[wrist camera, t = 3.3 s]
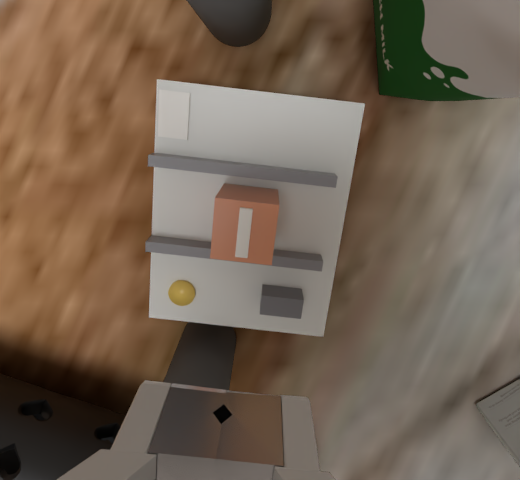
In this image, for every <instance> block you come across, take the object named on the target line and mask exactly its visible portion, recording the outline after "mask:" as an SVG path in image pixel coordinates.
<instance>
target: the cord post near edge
mask: <svg viewBox="0 0 520 480" xmlns="http://www.w3.org/2000/svg"><path fill="white" fill-rule="evenodd" d="M187 1H188V3H189V4H190V5H191V7H192V8H193V9H194V11H195V12H196V13H197V15H198V16H199V17H200V18H201V20H202V21H203V22H204V24H205V25H206V26H207V28H208V29H209V30H210V32H211V33H212V34H213V35H214V36H215V37H216V38H217V39H218V40H219V41H221V42H222V43H224V44H227V45H230V46H236V47H240V46H246V45H249V44H251V43H253V42H255V41H256V40H257V39H259V38H260V37H261V36H262V35H263V33H264V32H265V30H266V29H267V27H268V24H269V22H270V18H271V10H272V0H187Z"/></svg>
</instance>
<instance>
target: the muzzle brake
mask: <svg viewBox="0 0 520 480" xmlns="http://www.w3.org/2000/svg"><path fill="white" fill-rule="evenodd" d="M125 417H126V416H125V415H123V414H119V413H116V412H113V411H110V410H109V409H106V408H103V407H100V406H97V405H94V404H91V403H88V402H85V401H82V400H79V399H75V398H72V397H68V396H64V395H61V394H58V393H56V392H52V391H49V390H46V389H44V388H42V387H39V386H36V385H33V384H30V383H27V382H24V381H21V380H18V379H15V378H12V377H9V376H6V375H3V374H0V480H57V479H58V478H60V477H61V476H62V475H64V474H65V473H67V472H68V471H70V470H71V469H73V468H74V467H76V466H77V465H79V464H80V463H81V462H83V461H84V460H86V459H87V458H89V457H90V456H92V455H93V454H95V453H96V452H97V451H99V450H100V449H106V450H110V449H111V447H112V445H113V443H114V441H115V438H116V436H117V434H118V432H119V430H120V428H121V425H122V423H123V421H124V419H125Z"/></svg>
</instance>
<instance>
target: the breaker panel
mask: <svg viewBox="0 0 520 480" xmlns="http://www.w3.org/2000/svg"><path fill="white" fill-rule="evenodd" d="M364 107H365V104H364V103H356V102H347V101H339V100H330V99H322V98H313V97H305V96H296V95H288V94H279V93H271V92H262V91H254V90H245V89H237V88H228V87H220V86H211V85H203V84H194V83H186V82H177V81H169V80H160V79H157V92H156V121H155V151H154V153H152V154H149V155H148V166H151V167H154V181H153V210H152V235H151V237H150V238H149V239H148V240H147V241H146V250H145V252H151V270H150V299H149V317H150V318H159V319H168V320H177V321H186V322H195V323H204V324H213V325H222V326H231V327H240V328H248V329H257V330H266V331H275V332H284V333H293V334H302V335H311V336H320V337H323V336H324V330H325V325H326V319H327V314H328V308H329V302H330V297H331V291H332V286H333V280H334V274H335V269H336V263H337V258H338V252H339V246H340V241H341V235H342V230H343V224H344V219H345V213H346V207H347V202H348V196H349V191H350V185H351V179H352V174H353V168H354V163H355V157H356V152H357V146H358V140H359V135H360V129H361V124H362V118H363V112H364ZM224 183H226V184H235V185H244V186H252V187H261V188H270V189H278V195H279V212H278V220H277V228H276V236H275V243H274V251H273V259H272V265H263V264H254V263H245V262H237V261H228V260H219V259H210V252H211V240H212V227H213V215H214V202H215V197H216V195H217V194H218V192H219V191H220V189H221V187H222V186H223V184H224Z"/></svg>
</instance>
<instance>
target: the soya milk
mask: <svg viewBox="0 0 520 480" xmlns="http://www.w3.org/2000/svg"><path fill="white" fill-rule="evenodd" d="M373 5H374V20H375V36H376V51H377V66H378V81H379V94H380V95H388V96H395V97H403V98H410V99H417V100H426V101H461V100H478V99H496V98H513V97H520V0H373Z"/></svg>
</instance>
